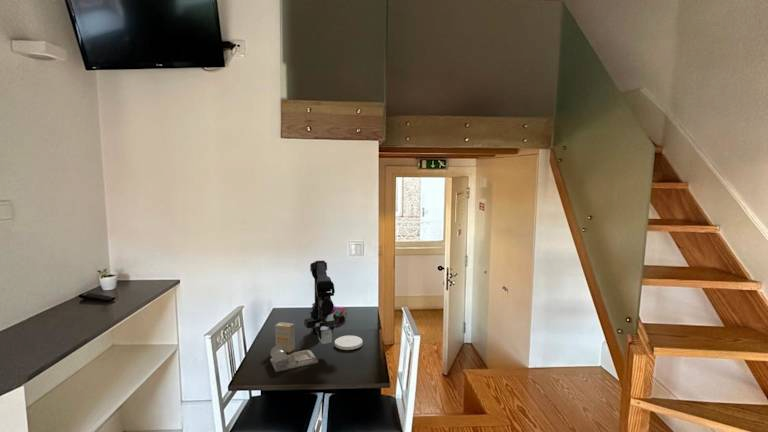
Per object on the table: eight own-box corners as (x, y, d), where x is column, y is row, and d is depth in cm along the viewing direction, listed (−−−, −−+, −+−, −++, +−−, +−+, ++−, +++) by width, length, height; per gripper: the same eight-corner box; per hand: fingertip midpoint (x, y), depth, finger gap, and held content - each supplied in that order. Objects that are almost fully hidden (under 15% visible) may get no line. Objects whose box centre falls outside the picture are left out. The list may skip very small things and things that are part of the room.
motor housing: (310, 352, 185) (310, 338, 184) (318, 362, 174) (317, 347, 173) (270, 360, 176) (269, 346, 175) (275, 372, 165) (275, 356, 165)
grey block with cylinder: (327, 337, 185) (327, 325, 184) (333, 343, 178) (333, 331, 177) (318, 339, 183) (318, 327, 182) (324, 345, 176) (323, 333, 175)
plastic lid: (362, 340, 200) (362, 335, 200) (362, 351, 186) (362, 346, 186) (336, 340, 200) (336, 335, 199) (333, 352, 186) (333, 347, 185)
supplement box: (295, 349, 188) (294, 323, 187) (290, 353, 184) (289, 327, 182) (281, 346, 191) (280, 321, 190) (275, 350, 186) (274, 324, 185)
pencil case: (308, 320, 229) (308, 305, 228) (317, 315, 237) (317, 301, 237) (340, 325, 220) (340, 310, 220) (348, 319, 229) (348, 305, 228)
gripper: (310, 314, 168) (310, 348, 170) (349, 307, 177) (349, 340, 178) (303, 307, 178) (304, 339, 179) (340, 301, 187) (341, 332, 188)
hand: (325, 338), depth 181 cm, fingers closed on grey block with cylinder, 4 cm apart
